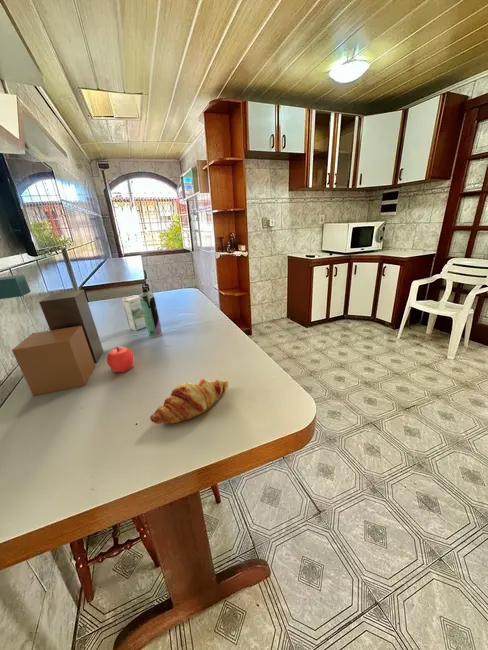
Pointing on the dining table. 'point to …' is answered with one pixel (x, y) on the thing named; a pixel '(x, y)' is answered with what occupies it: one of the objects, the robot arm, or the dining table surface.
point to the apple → (120, 359)
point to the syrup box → (134, 312)
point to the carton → (55, 360)
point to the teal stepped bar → (13, 286)
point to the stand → (72, 317)
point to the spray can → (150, 313)
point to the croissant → (189, 401)
